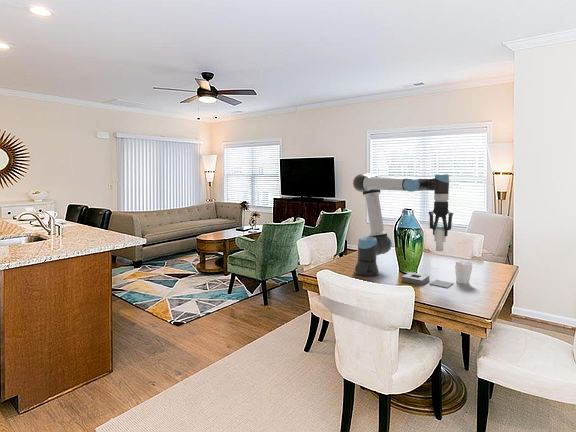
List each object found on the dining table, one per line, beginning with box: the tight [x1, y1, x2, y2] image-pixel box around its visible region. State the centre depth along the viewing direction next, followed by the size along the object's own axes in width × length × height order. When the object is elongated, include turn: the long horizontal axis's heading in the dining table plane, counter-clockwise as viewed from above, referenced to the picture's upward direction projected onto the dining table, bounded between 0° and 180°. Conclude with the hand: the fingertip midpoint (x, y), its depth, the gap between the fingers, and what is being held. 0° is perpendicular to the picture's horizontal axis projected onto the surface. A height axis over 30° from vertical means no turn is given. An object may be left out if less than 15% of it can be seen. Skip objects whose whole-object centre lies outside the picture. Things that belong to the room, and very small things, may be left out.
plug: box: [435, 225, 445, 252], centre depth 209 cm, size 5×5×14 cm
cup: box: [454, 260, 473, 285], centre depth 215 cm, size 9×9×12 cm
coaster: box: [429, 279, 454, 289], centre depth 212 cm, size 10×10×1 cm
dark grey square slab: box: [401, 271, 430, 286], centre depth 218 cm, size 12×12×3 cm
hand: (439, 241), depth 209 cm, fingers closed on plug, 4 cm apart
